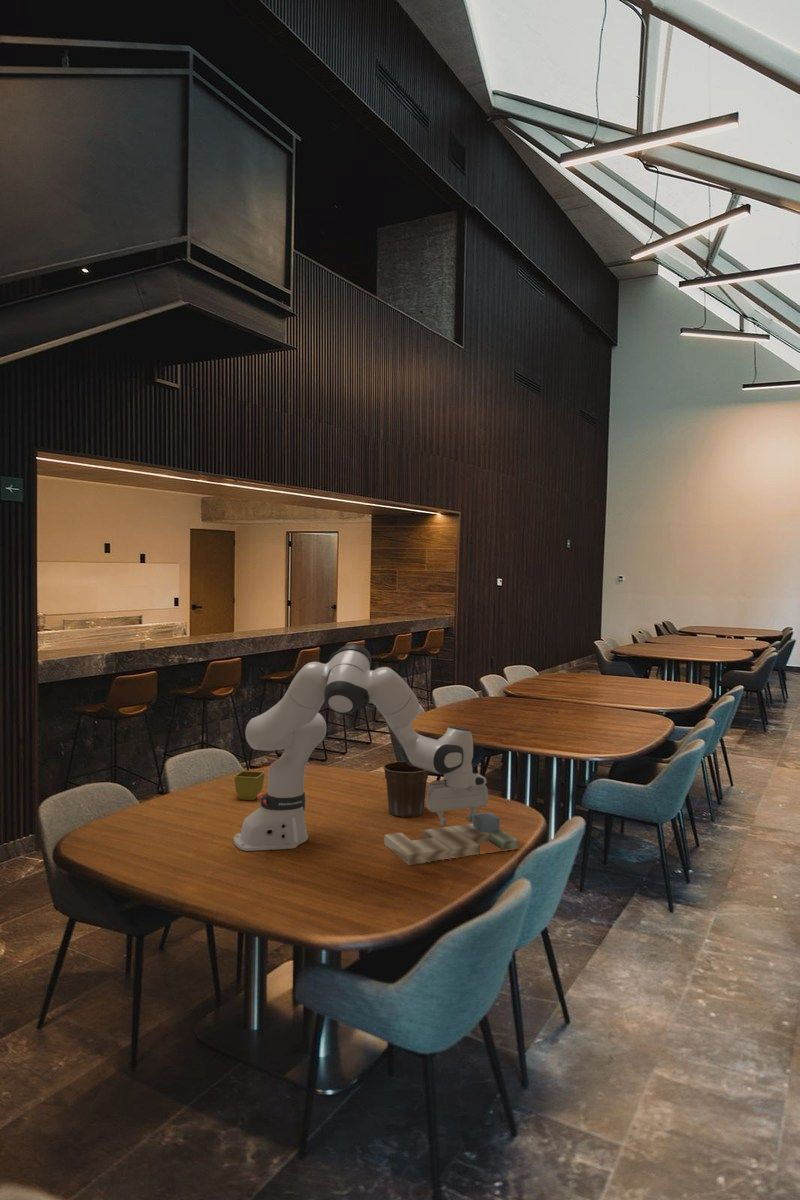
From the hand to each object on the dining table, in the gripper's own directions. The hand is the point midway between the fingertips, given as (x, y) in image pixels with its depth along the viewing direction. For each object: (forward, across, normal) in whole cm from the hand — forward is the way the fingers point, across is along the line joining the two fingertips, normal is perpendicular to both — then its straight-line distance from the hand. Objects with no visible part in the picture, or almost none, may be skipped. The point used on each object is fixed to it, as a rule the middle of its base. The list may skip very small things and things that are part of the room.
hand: (456, 822), depth 237 cm
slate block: (+2, +10, -2) cm, 10 cm away
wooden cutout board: (+5, -4, -5) cm, 9 cm away
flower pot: (+6, -50, +65) cm, 83 cm away
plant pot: (+6, -3, +31) cm, 32 cm away
